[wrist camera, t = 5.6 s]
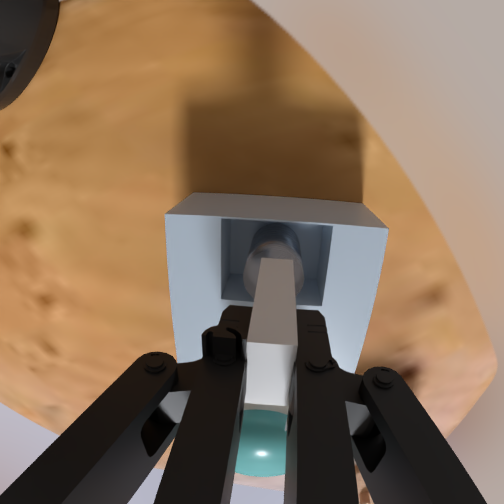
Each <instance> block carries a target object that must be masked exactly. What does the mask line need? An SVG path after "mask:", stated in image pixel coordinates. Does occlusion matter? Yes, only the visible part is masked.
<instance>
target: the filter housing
mask: <svg viewBox="0 0 504 504" xmlns="http://www.w3.org/2000/svg"><path fill="white" fill-rule="evenodd" d="M271 223H279V224H284V225H286V226H288V227H290V228H291V229H292V230H293V231H294V232H295V233H296V235H297V237H298V239H299V243H300V250H301V257H302V264H303V271H304V284H303V287H302V289H301V291H300V292H299V294H298V295H297V296H296V297H295V298H296V309H306V310H319V312H320V313H321V314H322V315H323V316H324V317H325V321H326V327H327V334H328V337H329V343H330V348H331V354H332V357H333V358H334V359H335V360H336V361H337V363H338V365H339V367H340V368H341V369H343V370H345V371H347V372H350V373H355V370H356V367H357V364H358V360H359V357H360V353H361V350H362V347H363V343H364V339H365V336H366V332H367V328H368V324H369V321H370V317H371V313H372V309H373V304H374V300H375V296H376V292H377V287H378V283H379V278H380V273H381V268H382V263H383V258H384V253H385V248H386V242H387V237H388V231H389V228H388V227H387V226H386V225H385V224H384V223H383V222H382V221H381V220H380V219H379V218H377V217H376V216H375V215H374V214H373V213H372V212H371V211H370V210H369V209H368V208H367V207H366V206H365V205H364V204H363V203H354V202H344V201H332V200H321V199H308V198H295V197H280V196H264V195H246V194H225V193H198V192H193V193H192V194H191V195H189V196H188V197H187V198H185V199H184V200H183V201H181V202H180V203H179V204H177V205H176V206H175V207H173V208H172V209H171V210H169V211H168V212H167V213H165V229H166V247H167V263H168V276H169V288H170V299H171V310H172V319H173V329H174V337H175V346H176V354H177V361H178V363H184V362H192V361H196V360H199V359H201V358H202V357H203V355H202V338H201V335H202V333H203V332H204V331H205V330H206V329H208V328H210V327H212V326H216V325H218V324H219V321H220V318H221V315H222V312H223V310H225V309H226V308H227V307H228V306H229V305H238V306H250V307H253V304H254V298H253V297H252V296H251V295H250V294H249V293H248V292H247V290H246V288H245V286H244V282H243V272H244V269H245V265H246V261H247V257H248V253H249V250H250V246H251V242H252V239H253V236H254V234H255V233H256V232H257V231H258V230H259V229H260V228H261V227H263V226H265V225H267V224H271Z"/></svg>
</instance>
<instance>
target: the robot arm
mask: <svg viewBox="0 0 504 504" xmlns="http://www.w3.org/2000/svg"><path fill="white" fill-rule="evenodd" d="M58 7H59V0H0V110H2V109H4V108H5V107H7V106H8V105H9V104H11V103H12V102H13V101H14V100H15V99H16V98H17V97H18V96H19V95H20V94H21V93H22V92H23V90H24V89H25V88H26V87H27V85H28V84H29V82H30V81H31V80H32V78H33V76H34V75H35V73H36V72H37V70H38V68H39V66H40V64H41V62H42V60H43V58H44V56H45V54H46V52H47V49H48V47H49V45H50V42H51V39H52V36H53V33H54V30H55V26H56V21H57V16H58ZM201 338H202V355H203V357H202V358H201V359H199V360H196V361H192V362H184V363H176V360H175V359H174V358H173V356H171V355H169V354H167V353H163V352H150V353H147V354H144V355H142V356H141V357H139V358H138V359H137V360H136V361H135V362H134V363H133V364H132V365H131V366H130V367H129V368H128V369H127V370H126V371H125V372H124V373H123V374H122V375H121V376H120V377H119V378H118V379H117V380H116V381H115V382H114V383H113V384H112V385H111V386H110V387H108V388H107V389H106V390H105V391H104V392H103V393H102V394H101V395H100V396H99V397H98V398H97V399H96V400H95V401H94V402H93V403H92V404H91V405H90V406H89V407H88V408H87V409H86V410H85V411H84V412H83V413H82V414H81V415H80V416H79V417H78V418H77V419H76V420H75V421H74V422H73V423H72V424H71V425H70V426H69V427H68V428H67V429H66V430H65V431H64V432H63V433H62V434H61V435H60V436H59V437H58V438H57V439H56V440H55V441H54V442H53V443H52V444H51V445H50V446H49V447H48V448H47V449H46V450H45V451H44V452H43V453H42V454H41V455H40V456H39V457H38V458H37V459H36V460H35V461H34V462H33V463H32V464H31V465H30V467H28V468H27V469H26V470H25V471H24V472H23V473H22V474H21V475H20V476H19V477H18V478H17V479H16V480H15V481H14V482H13V483H12V484H11V485H10V486H9V487H8V488H7V489H6V490H5V491H4V492H3V493H2V494H1V495H0V504H127V503H128V502H129V501H130V499H131V498H132V496H133V495H134V494H135V492H136V491H137V490H138V488H139V487H140V486H141V484H142V483H143V481H144V480H145V479H146V477H147V476H148V474H149V473H150V472H151V470H152V469H153V468H154V466H155V465H156V463H157V462H158V461H159V459H160V458H161V456H162V455H163V453H164V452H165V451H166V449H167V448H168V446H169V445H170V444H171V442H172V441H173V439H174V438H175V440H174V443H173V446H172V449H171V452H170V455H169V458H168V461H167V464H166V467H165V470H164V473H163V476H162V479H161V482H160V485H159V488H158V491H157V494H156V498H155V501H154V504H230V499H231V493H232V486H233V480H234V474H235V467H236V461H237V455H238V448H239V442H240V435H241V429H242V422H243V415H244V403H251V404H263V405H278V406H288V403H289V409H288V415H287V420H286V425H285V431H287V435H286V465H285V488H284V504H359V497H358V488H357V480H356V472H355V464H354V460H355V462H356V464H357V466H358V469H359V471H360V473H361V475H362V478H363V480H364V482H365V484H366V487H367V489H368V491H369V493H370V496H371V498H372V500H373V503H374V504H487V503H486V501H485V500H484V498H483V497H482V495H481V493H480V492H479V490H478V488H477V487H476V485H475V484H474V482H473V480H472V479H471V477H470V476H469V474H468V473H467V471H466V470H465V468H464V467H463V465H462V463H461V462H460V461H459V459H458V457H457V456H456V454H455V453H454V451H453V450H452V448H451V447H450V445H449V444H448V442H447V441H446V439H445V438H444V437H443V435H442V434H441V432H440V431H439V429H438V428H437V426H436V425H435V423H434V422H433V421H432V419H431V418H430V416H429V415H428V413H427V412H426V410H425V409H424V408H423V406H422V405H421V403H420V402H419V401H418V399H417V398H416V396H415V395H414V393H413V392H412V391H411V389H410V388H409V386H408V385H407V384H406V382H405V381H404V380H403V378H402V377H401V376H400V375H399V374H398V373H397V372H396V371H394V370H392V369H390V368H386V367H373V368H371V369H368V370H367V371H366V372H365V373H364V375H363V376H362V375H358V374H354V373H350V372H347V371H345V370H343V369H341V368H340V367H339V365H338V363H337V361H336V360H335V359H334V358H333V357H332V354H331V348H330V343H329V337H328V334H327V327H326V321H325V317H324V316H323V315H322V314H321V313H320V312H319V310H306V309H296V298H295V282H294V266H293V260H289V259H274V258H261V263H260V269H259V275H258V281H257V286H256V292H255V298H254V304H253V307H250V306H238V305H229V306H228V307H227V308H226V309H225V310H223V312H222V315H221V318H220V321H219V324H218V325H216V326H212V327H210V328H208V329H206V330H205V331H204V332H203V333H202V335H201ZM175 436H176V437H175Z"/></svg>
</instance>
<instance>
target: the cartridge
mask: <svg viewBox="0 0 504 504" xmlns="http://www.w3.org/2000/svg"><path fill="white" fill-rule="evenodd" d="M288 409H289V403H288V406H278V405H263V404H251V403H244V415H243V422H242V429H241V435H240V442H239V448H238V455H237V461H236V467H235V472H236V473H239V474H243V475H249V476H259V477H269V476H278V475H283V474H285V465H286V435H287V431H285V425H286V420H287V415H288Z"/></svg>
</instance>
